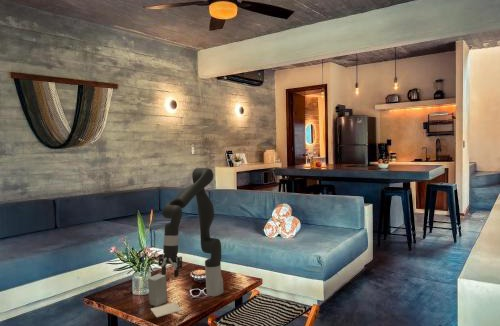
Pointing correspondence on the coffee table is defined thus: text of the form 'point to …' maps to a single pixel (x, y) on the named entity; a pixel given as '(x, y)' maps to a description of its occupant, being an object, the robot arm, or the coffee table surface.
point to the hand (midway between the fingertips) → (169, 275)
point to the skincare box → (157, 290)
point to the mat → (166, 309)
